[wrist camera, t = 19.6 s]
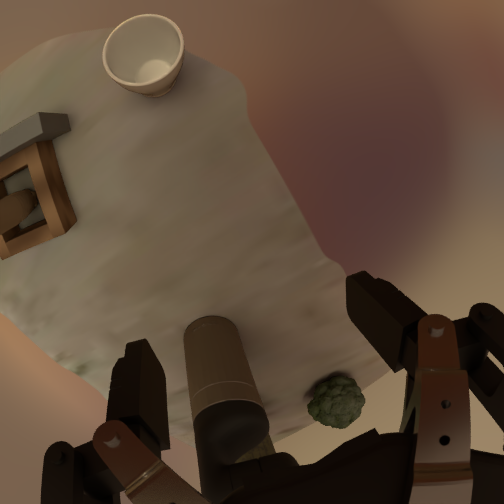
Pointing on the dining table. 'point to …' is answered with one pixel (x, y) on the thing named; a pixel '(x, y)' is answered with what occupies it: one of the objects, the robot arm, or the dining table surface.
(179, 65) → the drinking glass
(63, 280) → the dining table surface
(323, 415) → the vegetable
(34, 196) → the handle
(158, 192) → the dining table surface
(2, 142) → the slate wall
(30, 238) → the walnut block
